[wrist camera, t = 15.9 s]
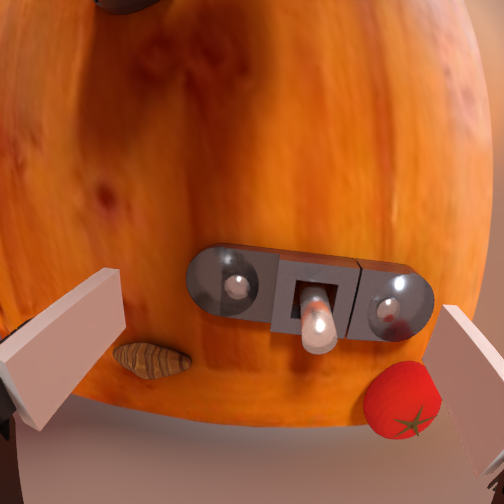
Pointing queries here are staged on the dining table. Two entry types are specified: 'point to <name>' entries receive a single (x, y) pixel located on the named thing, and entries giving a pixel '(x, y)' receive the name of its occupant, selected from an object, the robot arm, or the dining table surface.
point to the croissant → (151, 360)
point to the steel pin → (316, 318)
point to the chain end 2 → (357, 297)
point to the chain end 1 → (241, 280)
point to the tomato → (401, 401)
